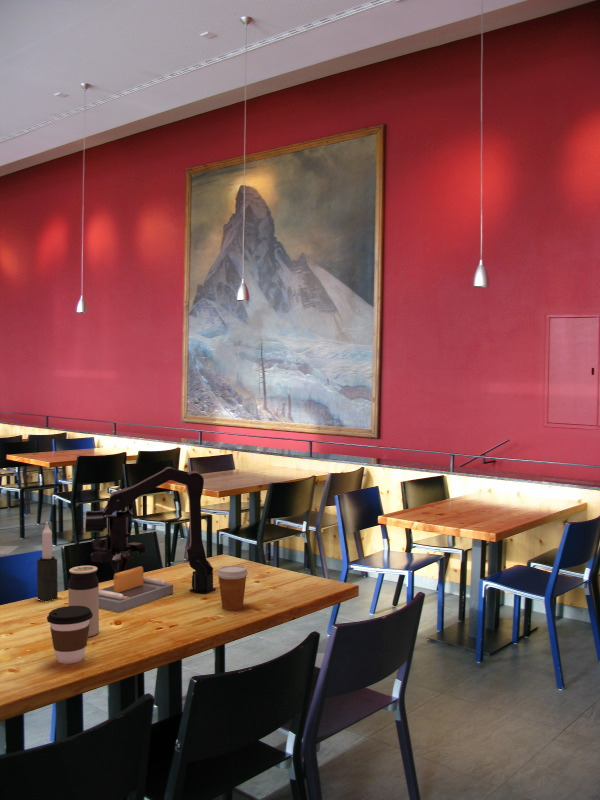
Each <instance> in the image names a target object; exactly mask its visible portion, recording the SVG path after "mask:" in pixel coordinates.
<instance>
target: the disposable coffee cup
mask: <svg viewBox="0 0 600 800" xmlns="http://www.w3.org/2000/svg"><path fill="white" fill-rule="evenodd" d="M248 573H249V572H248V570H247V567H246V566H243V565H224V566H220V567H218V569H217V572H216V575H217V577H218V582H219V583H218V584H219V592H220V593H219V594H220V599H221V601H220V602H221V606H222V607H221V608H222V609H223V610H225V611H238V610H239V611H240V610H241V609H243V607H244V601H245V599H244V598H245V589H246V584H247V583H246V582H247V581H246V580H247V576H248Z"/></svg>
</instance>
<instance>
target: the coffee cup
mask: <svg viewBox="0 0 600 800" xmlns="http://www.w3.org/2000/svg"><path fill="white" fill-rule="evenodd" d="M92 616H93V613H92V612H91V610H90V608H88V607H85V606H69V605H68V606H62V607H56V608H55V609H52V610H50V612H48V615H47V616H46V621H47V622H48V623H50V627H49V628H50V634H51V641H52V646H53V649H54V654H55V658H56V660H57V662H58V663H59V664H63V665H64V664H67V665H69V664H75V663H79V662H81V661H82V660H83V659H84V657H85V654H86V647H87V645H88V640H89V639H88V638H89V637H88V633H89V626H90V623H89V621H90V619H91V618H92Z"/></svg>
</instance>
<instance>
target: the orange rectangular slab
mask: <svg viewBox="0 0 600 800" xmlns="http://www.w3.org/2000/svg"><path fill="white" fill-rule="evenodd" d="M143 576H144V567H143V566H136V567H133V568H130V569H125V571H122V572H119V573H115V572H114V574H113V586H114V592H118V593H119V592H122V591H125V590H128V589H131V588H135V587H138V586H141V585H143Z"/></svg>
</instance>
